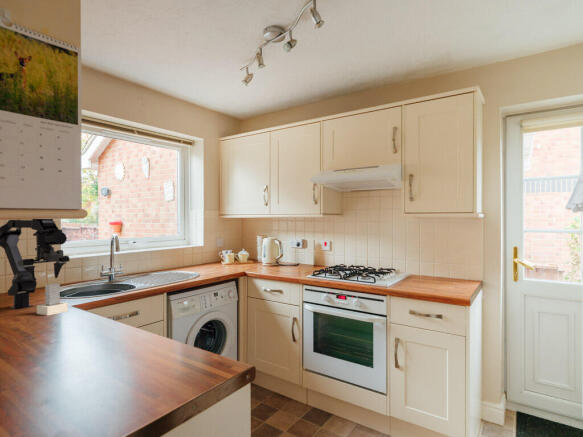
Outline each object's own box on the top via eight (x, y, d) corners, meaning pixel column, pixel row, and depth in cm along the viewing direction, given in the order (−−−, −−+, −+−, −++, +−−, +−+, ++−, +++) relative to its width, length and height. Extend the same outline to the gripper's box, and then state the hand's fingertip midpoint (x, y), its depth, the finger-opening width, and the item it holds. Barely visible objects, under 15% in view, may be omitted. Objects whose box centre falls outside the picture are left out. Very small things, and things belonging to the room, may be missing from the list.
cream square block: (36, 313, 142) (36, 305, 142) (57, 309, 149) (57, 301, 149) (47, 315, 138) (47, 306, 138) (67, 311, 145) (67, 303, 145)
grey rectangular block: (43, 313, 142) (43, 284, 143) (54, 310, 146) (55, 283, 147) (49, 314, 141) (50, 285, 141) (61, 311, 145) (61, 283, 145)
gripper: (29, 246, 141) (30, 283, 140) (75, 243, 157) (76, 277, 157) (16, 246, 146) (17, 282, 145) (62, 244, 162) (63, 276, 162)
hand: (45, 279), depth 152 cm, fingers open, 9 cm apart
